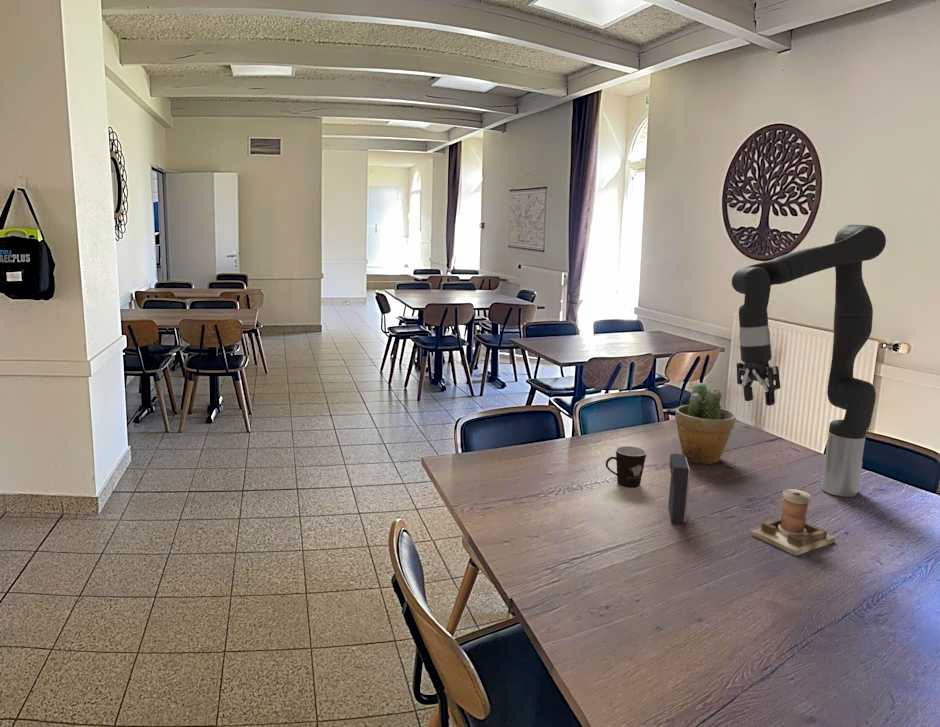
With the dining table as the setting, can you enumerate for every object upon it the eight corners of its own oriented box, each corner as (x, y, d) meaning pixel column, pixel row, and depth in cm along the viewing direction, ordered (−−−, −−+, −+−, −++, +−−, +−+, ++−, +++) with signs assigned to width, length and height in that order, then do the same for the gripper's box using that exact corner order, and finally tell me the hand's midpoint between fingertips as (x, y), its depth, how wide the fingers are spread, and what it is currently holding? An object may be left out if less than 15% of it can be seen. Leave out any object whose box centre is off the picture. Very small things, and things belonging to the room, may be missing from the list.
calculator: (686, 525, 175) (692, 469, 172) (668, 523, 176) (674, 467, 173) (682, 507, 185) (687, 454, 182) (665, 506, 186) (670, 453, 183)
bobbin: (788, 524, 174) (793, 487, 172) (810, 534, 168) (816, 495, 166) (772, 530, 171) (777, 491, 168) (795, 540, 165) (800, 500, 163)
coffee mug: (641, 479, 205) (644, 447, 203) (645, 490, 197) (648, 456, 195) (601, 476, 206) (604, 444, 204) (604, 487, 198) (606, 454, 196)
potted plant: (659, 452, 229) (665, 379, 224) (702, 446, 237) (709, 374, 231) (699, 471, 213) (706, 392, 207) (744, 463, 220) (752, 387, 215)
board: (790, 522, 178) (791, 511, 177) (834, 542, 168) (836, 530, 167) (751, 535, 170) (752, 523, 170) (795, 555, 160) (797, 544, 160)
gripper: (786, 342, 178) (790, 404, 180) (749, 339, 191) (753, 397, 193) (761, 346, 176) (765, 409, 178) (726, 343, 189) (730, 401, 191)
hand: (759, 402), depth 185 cm, fingers open, 8 cm apart
